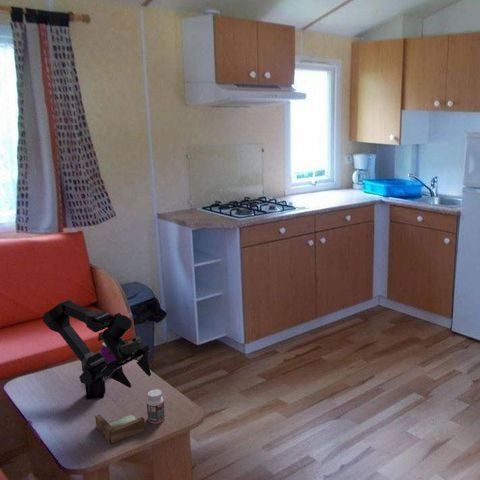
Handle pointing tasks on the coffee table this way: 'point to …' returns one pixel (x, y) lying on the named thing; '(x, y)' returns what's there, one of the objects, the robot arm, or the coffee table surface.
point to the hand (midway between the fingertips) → (140, 381)
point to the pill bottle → (155, 406)
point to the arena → (120, 427)
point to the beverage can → (107, 354)
